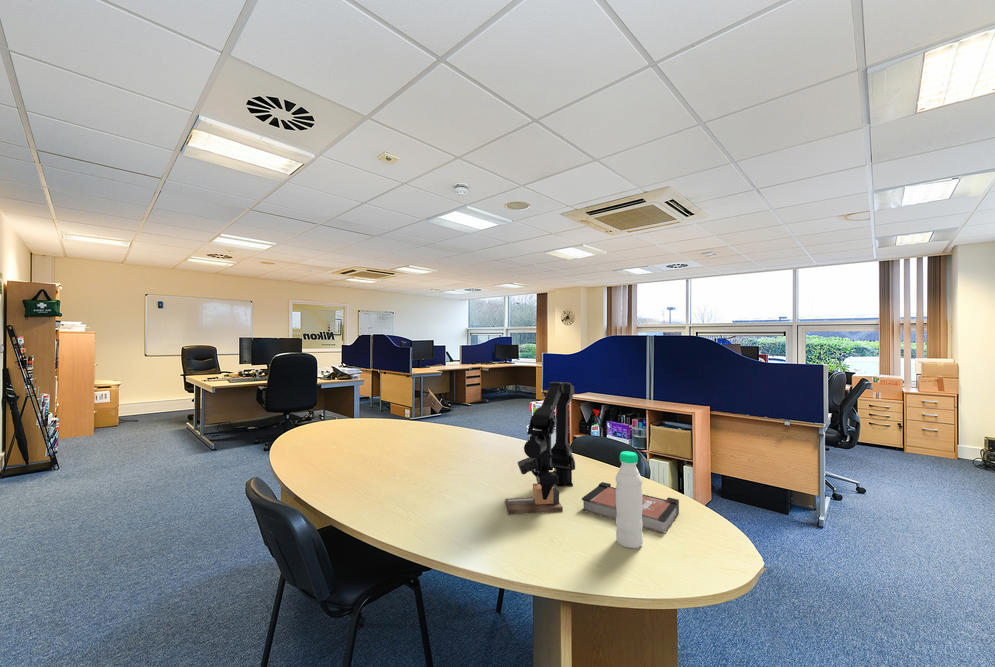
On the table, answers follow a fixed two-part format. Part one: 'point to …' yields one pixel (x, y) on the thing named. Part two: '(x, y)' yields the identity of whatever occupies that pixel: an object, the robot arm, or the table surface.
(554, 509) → the board
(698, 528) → the table surface
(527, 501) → the guide rail
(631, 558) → the table surface
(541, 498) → the block
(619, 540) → the water bottle
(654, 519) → the book
